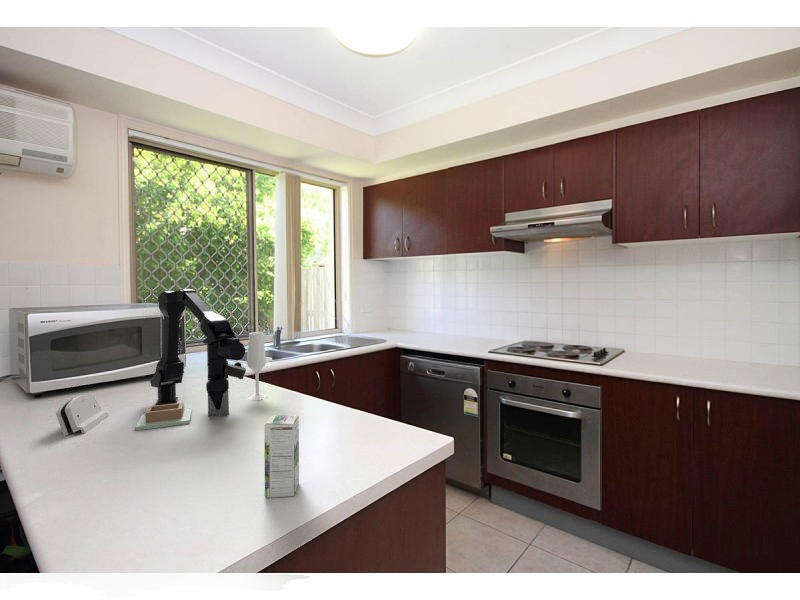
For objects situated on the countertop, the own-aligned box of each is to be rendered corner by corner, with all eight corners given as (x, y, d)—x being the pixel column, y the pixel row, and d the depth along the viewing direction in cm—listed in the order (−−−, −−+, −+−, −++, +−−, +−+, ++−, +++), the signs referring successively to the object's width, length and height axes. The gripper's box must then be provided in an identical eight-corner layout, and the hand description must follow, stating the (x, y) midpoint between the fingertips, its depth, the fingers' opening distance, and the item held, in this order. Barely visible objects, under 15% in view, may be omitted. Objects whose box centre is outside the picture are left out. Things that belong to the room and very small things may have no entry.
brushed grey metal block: (208, 413, 134) (207, 389, 134) (228, 411, 137) (228, 387, 136) (208, 417, 130) (207, 391, 130) (228, 414, 133) (228, 389, 133)
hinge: (84, 434, 116) (68, 401, 115) (66, 441, 115) (50, 408, 114) (109, 416, 133) (96, 387, 132) (93, 422, 132) (80, 393, 130)
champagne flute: (247, 396, 154) (245, 332, 153) (265, 394, 156) (264, 331, 156) (248, 401, 148) (246, 334, 147) (268, 399, 150) (266, 333, 149)
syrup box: (271, 484, 85) (269, 414, 85) (300, 483, 86) (298, 413, 85) (264, 498, 80) (262, 424, 79) (295, 497, 80) (294, 423, 80)
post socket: (142, 417, 131) (142, 404, 131) (192, 411, 136) (191, 399, 136) (135, 430, 119) (134, 416, 119) (189, 423, 124) (189, 410, 124)
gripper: (245, 360, 127) (246, 410, 128) (242, 351, 145) (243, 396, 145) (205, 363, 123) (207, 415, 124) (207, 354, 140) (208, 400, 141)
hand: (218, 406), depth 133 cm, fingers open, 8 cm apart
